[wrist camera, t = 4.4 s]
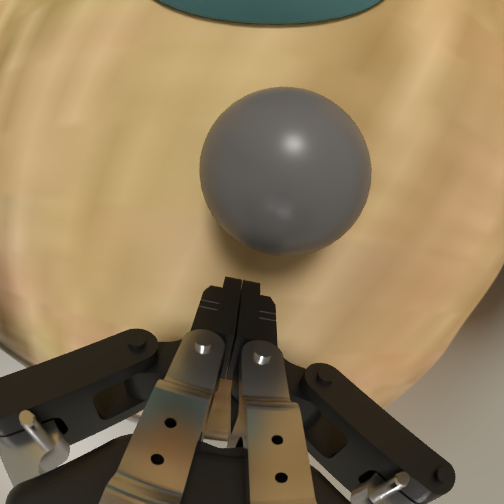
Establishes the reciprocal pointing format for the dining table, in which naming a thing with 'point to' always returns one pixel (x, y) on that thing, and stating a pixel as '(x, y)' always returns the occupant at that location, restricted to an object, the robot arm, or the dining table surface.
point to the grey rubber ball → (285, 171)
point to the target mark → (271, 9)
